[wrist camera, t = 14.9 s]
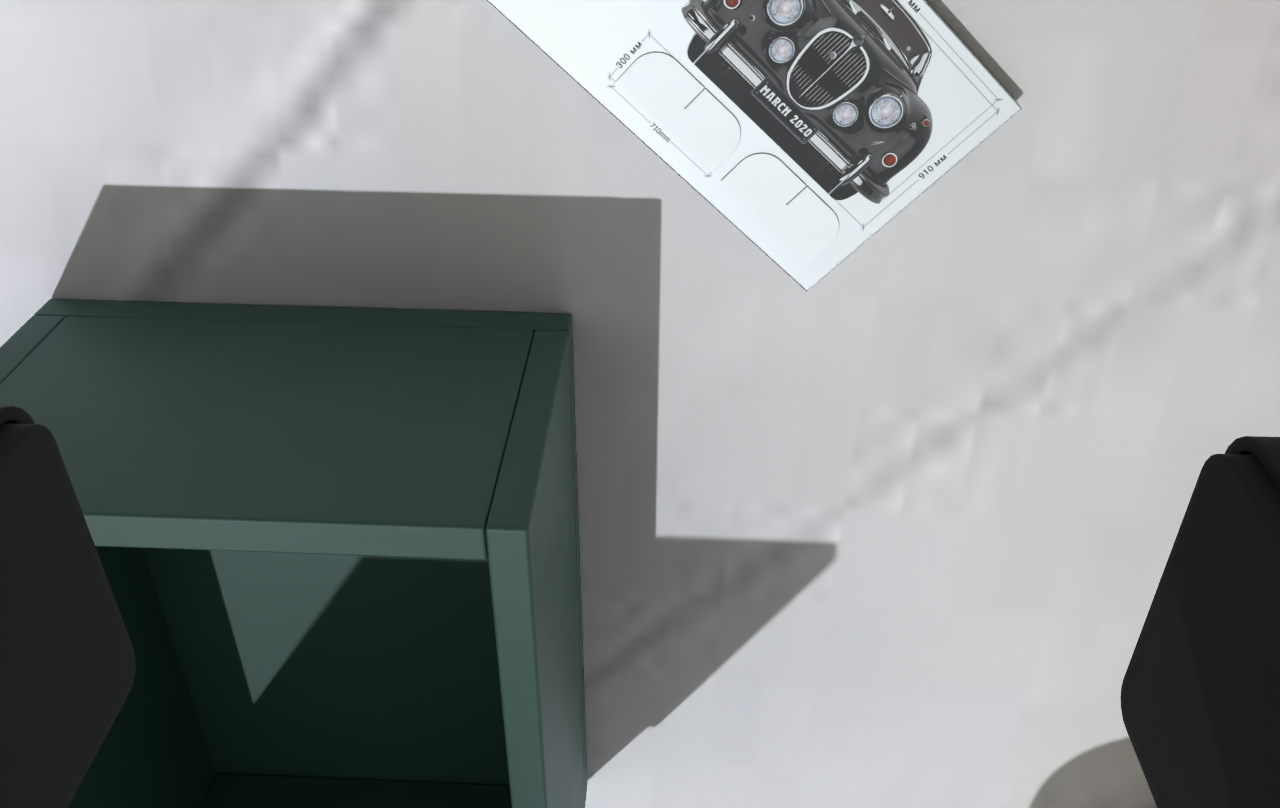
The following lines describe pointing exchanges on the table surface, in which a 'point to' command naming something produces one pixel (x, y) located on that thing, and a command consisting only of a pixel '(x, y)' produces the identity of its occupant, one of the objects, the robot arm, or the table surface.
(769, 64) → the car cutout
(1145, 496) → the table surface
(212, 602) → the green lidded box
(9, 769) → the robot arm
